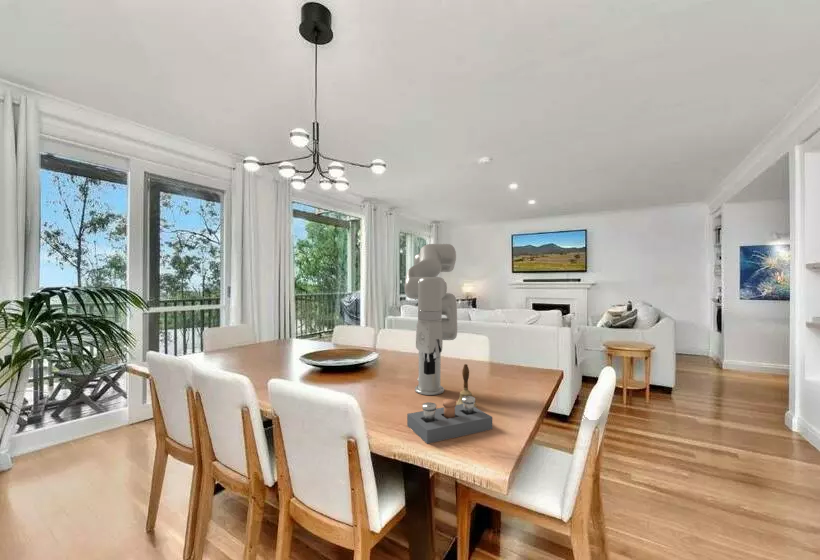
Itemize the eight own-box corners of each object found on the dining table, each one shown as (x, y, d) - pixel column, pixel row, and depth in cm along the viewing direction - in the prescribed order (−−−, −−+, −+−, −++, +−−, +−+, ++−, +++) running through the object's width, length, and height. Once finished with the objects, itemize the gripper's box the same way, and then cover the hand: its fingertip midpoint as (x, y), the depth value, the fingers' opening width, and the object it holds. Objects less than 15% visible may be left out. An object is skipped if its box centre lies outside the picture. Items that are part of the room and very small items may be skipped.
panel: (407, 425, 118) (407, 413, 118) (467, 414, 128) (467, 403, 128) (427, 443, 105) (427, 430, 105) (492, 429, 116) (492, 416, 116)
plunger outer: (420, 419, 115) (420, 403, 115) (432, 416, 116) (432, 401, 116) (426, 424, 111) (426, 408, 111) (438, 421, 113) (438, 406, 112)
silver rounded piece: (459, 411, 121) (459, 397, 121) (470, 409, 123) (470, 395, 123) (466, 416, 117) (466, 401, 117) (477, 414, 119) (477, 399, 119)
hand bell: (450, 406, 136) (450, 364, 136) (463, 400, 142) (463, 361, 142) (468, 412, 130) (468, 368, 130) (481, 406, 136) (481, 364, 136)
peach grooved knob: (440, 415, 118) (440, 400, 118) (451, 413, 120) (451, 398, 120) (447, 420, 114) (447, 404, 114) (458, 417, 116) (458, 402, 116)
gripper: (409, 314, 118) (408, 369, 119) (430, 319, 105) (430, 381, 105) (429, 313, 122) (428, 367, 122) (452, 318, 108) (452, 378, 108)
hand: (429, 373), depth 113 cm, fingers closed
